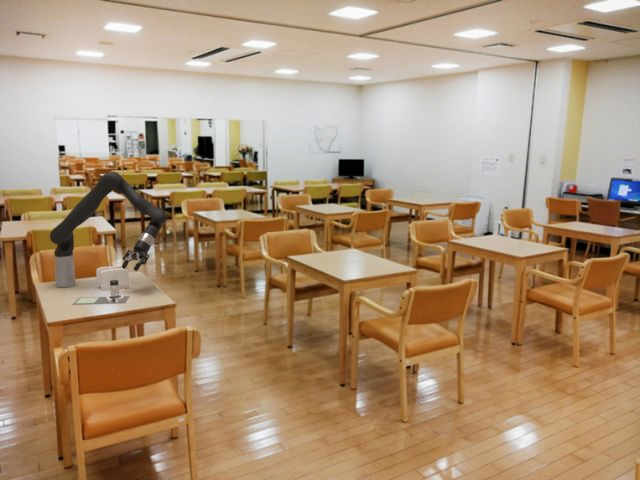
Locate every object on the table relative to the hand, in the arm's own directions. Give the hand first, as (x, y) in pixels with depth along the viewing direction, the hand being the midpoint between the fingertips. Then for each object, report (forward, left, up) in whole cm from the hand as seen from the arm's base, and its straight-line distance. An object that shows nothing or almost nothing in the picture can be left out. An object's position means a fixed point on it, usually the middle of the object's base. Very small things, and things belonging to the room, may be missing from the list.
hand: (129, 269), depth 277 cm
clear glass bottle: (-6, -8, -14) cm, 17 cm away
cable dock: (-12, -8, -15) cm, 21 cm away
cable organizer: (-13, +17, -15) cm, 26 cm away
